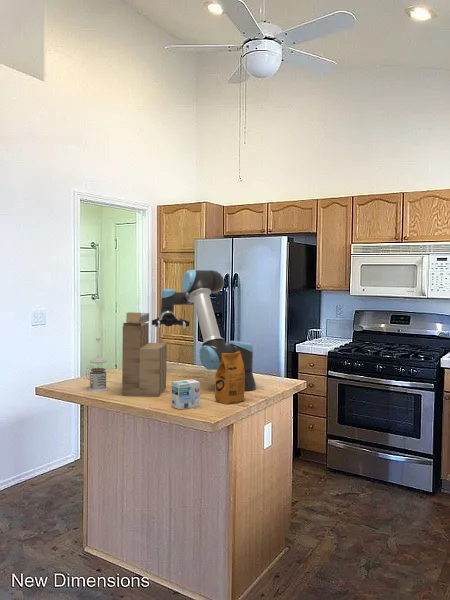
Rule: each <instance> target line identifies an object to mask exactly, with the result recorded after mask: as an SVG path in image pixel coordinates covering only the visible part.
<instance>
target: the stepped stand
mask: <svg viewBox="0 0 450 600" xmlns="http://www.w3.org/2000/svg"><path fill="white" fill-rule="evenodd" d="M122 324H123V325H122V355H121V357H122V361H121V363H122V364H121V365H122V367H121V368H122V372H121V373H122V379H121V383H122V385H121V390H122V391H121V396H122V397H149V398H151V397H152V398H153V397H154V398H159V397H160V396H161V395H162V393H164V391H165V390H166V388H167V353H168V352H167V350H168V349H167V346H168V345H167V344H168V343H166V342H165V343H164V342H163V343H162V342H161V343H160V342H149V339H150V337H149V335H150V331H149V329H150V327H149V326H150V324H149V322H145V323H143V324H141V323H126V322H123V323H122Z"/></svg>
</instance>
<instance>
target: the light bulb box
mask: <svg viewBox="0 0 450 600" xmlns="http://www.w3.org/2000/svg"><path fill="white" fill-rule="evenodd" d="M200 395H201V382H200V381H198V380H195V379H192V378H191V379H184V380H177V381H171V408H174V409H177V410H185V409H192V408H193V409H194V408H198V407H200V403H201V402H200V400H201V398H200V397H201V396H200Z"/></svg>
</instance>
